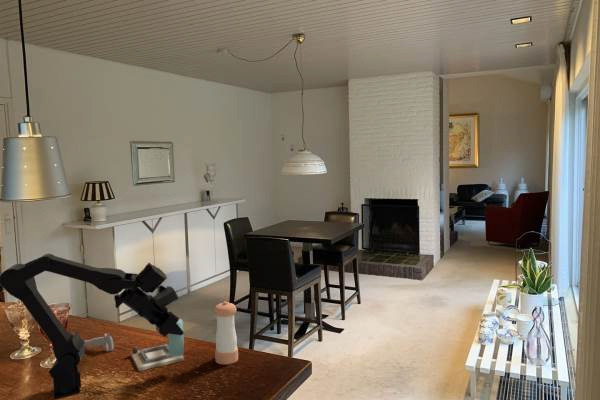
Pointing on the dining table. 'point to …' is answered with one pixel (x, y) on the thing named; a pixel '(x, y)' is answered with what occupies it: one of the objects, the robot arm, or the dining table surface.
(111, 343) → the caliper
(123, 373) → the dining table surface
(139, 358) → the board
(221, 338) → the salt shaker
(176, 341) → the pin
